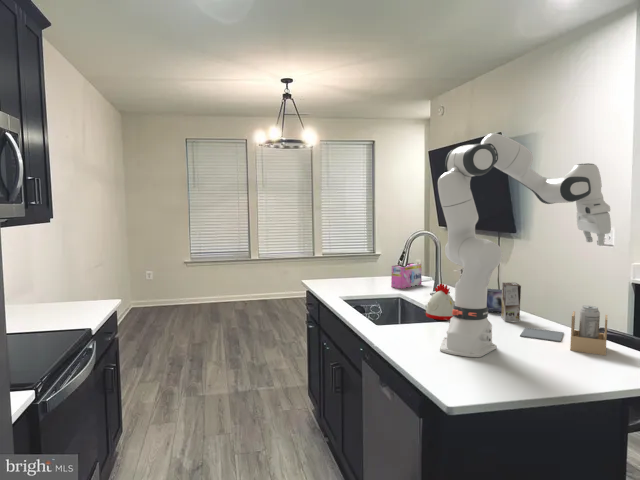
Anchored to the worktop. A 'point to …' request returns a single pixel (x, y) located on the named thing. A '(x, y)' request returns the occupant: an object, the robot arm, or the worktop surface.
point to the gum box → (406, 275)
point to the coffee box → (510, 302)
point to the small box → (494, 300)
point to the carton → (588, 340)
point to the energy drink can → (589, 322)
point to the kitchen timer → (440, 304)
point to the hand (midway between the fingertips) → (595, 243)
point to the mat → (542, 334)
